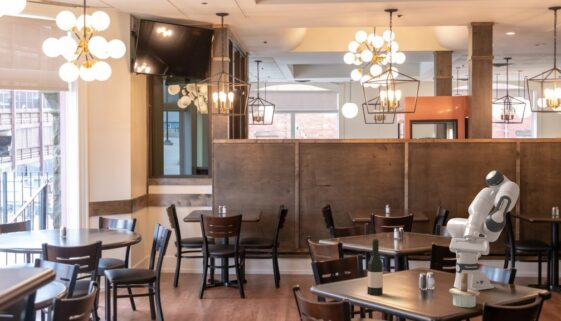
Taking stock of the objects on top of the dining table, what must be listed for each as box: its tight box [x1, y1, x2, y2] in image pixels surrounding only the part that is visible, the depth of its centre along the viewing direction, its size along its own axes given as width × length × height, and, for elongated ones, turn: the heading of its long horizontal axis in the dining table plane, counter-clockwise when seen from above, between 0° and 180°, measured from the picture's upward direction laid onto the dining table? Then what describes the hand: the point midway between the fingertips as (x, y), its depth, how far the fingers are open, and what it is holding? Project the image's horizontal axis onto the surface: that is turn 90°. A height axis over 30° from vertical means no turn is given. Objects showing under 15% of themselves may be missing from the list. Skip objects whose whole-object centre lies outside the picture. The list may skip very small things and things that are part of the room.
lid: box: [448, 273, 481, 297], centre depth 344 cm, size 15×15×10 cm
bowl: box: [452, 294, 477, 308], centre depth 344 cm, size 11×11×6 cm
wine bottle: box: [366, 238, 384, 297], centre depth 368 cm, size 8×8×30 cm
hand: (466, 258), depth 353 cm, fingers open, 8 cm apart
